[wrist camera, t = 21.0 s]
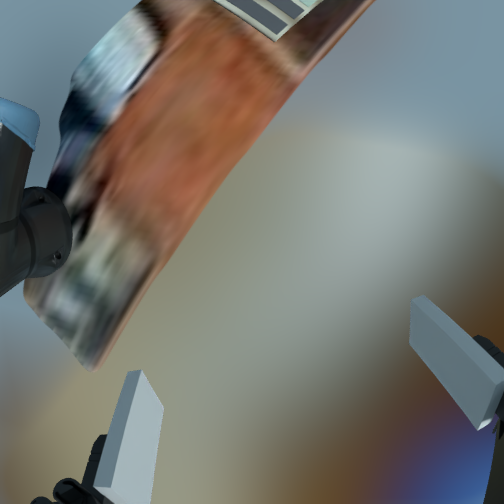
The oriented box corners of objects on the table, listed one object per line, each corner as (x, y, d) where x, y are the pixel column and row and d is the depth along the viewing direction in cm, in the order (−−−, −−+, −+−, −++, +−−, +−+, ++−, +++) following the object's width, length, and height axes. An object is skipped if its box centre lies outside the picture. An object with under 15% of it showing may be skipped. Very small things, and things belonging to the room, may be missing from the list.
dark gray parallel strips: (276, 34, 37) (277, 34, 37) (215, -7, 35) (215, -7, 34) (304, 10, 36) (304, 10, 36) (243, -30, 33) (243, -30, 33)
